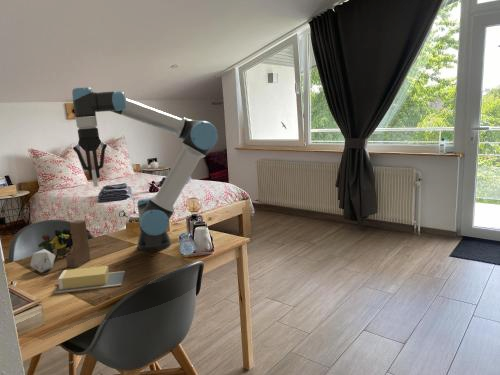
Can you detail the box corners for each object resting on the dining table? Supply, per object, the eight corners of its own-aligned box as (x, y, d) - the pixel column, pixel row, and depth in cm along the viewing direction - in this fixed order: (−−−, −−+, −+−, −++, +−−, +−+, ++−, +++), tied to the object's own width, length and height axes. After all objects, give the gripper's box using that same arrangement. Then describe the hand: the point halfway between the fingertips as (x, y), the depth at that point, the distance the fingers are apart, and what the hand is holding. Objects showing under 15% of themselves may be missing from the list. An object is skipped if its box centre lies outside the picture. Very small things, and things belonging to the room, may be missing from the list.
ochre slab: (108, 265, 153) (63, 270, 150) (104, 273, 145) (58, 278, 142) (109, 275, 154) (65, 280, 151) (106, 284, 146) (59, 289, 143)
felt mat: (125, 272, 157) (124, 270, 157) (121, 286, 145) (121, 284, 145) (63, 279, 153) (63, 277, 153) (54, 294, 140) (54, 292, 140)
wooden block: (75, 268, 163) (69, 226, 160) (67, 266, 165) (61, 225, 161) (90, 259, 172) (85, 220, 168) (82, 259, 173) (77, 219, 170)
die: (27, 276, 159) (35, 259, 155) (28, 259, 165) (35, 243, 161) (50, 277, 164) (58, 261, 160) (49, 261, 170) (57, 245, 166)
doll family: (80, 244, 193) (76, 217, 191) (94, 245, 190) (90, 219, 187) (39, 261, 173) (34, 232, 170) (53, 263, 169) (49, 234, 166)
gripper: (105, 126, 161) (113, 182, 166) (71, 128, 158) (80, 186, 163) (104, 126, 154) (112, 185, 159) (68, 129, 151) (77, 189, 156)
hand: (96, 185), depth 161 cm, fingers closed
